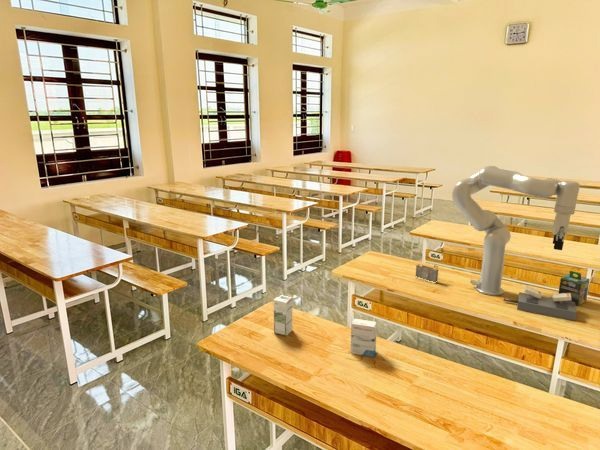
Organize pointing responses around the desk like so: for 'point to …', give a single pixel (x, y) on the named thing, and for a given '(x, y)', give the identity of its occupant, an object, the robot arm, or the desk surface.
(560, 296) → the block
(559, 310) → the power strip
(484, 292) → the robot arm
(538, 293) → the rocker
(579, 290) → the chalk box
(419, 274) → the architectural model on board
